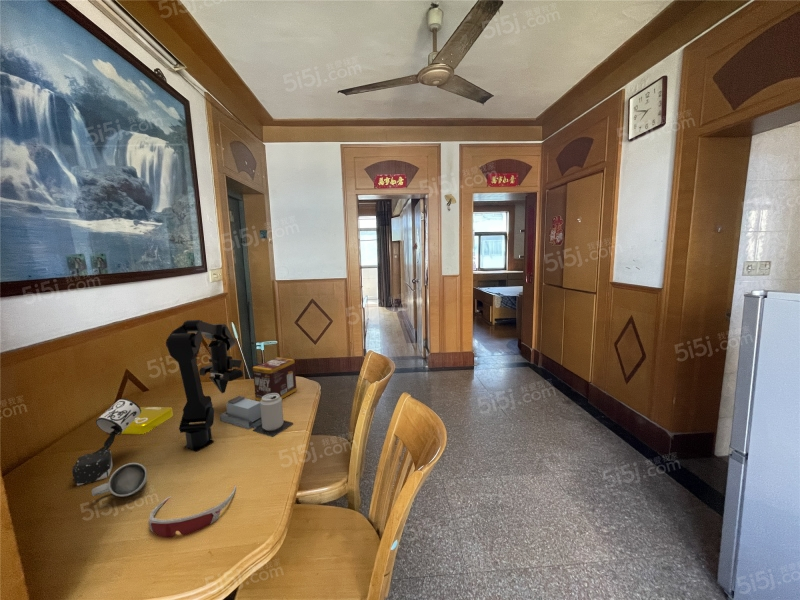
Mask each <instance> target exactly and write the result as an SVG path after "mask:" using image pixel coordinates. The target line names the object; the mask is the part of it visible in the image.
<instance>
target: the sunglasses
mask: <svg viewBox="0 0 800 600" xmlns="http://www.w3.org/2000/svg"><path fill="white" fill-rule="evenodd" d="M236 488H237V486H236V484H235V485H234V487H233V490H232V492H231V493H230V495H229V496H228V497H227V498H226V499H225V500H223V501H222V502H221V503H219V504H218V505H216V506H212V507H211V508H209V509H207V510H204V511H202V512H199V513H196V514H192V515H189V516H184V517H179V518H170V519H160V518H156V517H155V515H156V513H157V512H158V510H159V509H160V508H161V507H162V506H163V505H164V504H165V503H166V502H168V500H169V499H170V498H171V497H172V496H170V495H169V496H168V497H166V498H165V499H164V500H162V501H161V502H160V503H159V504H158V505H157V506H156V507H154V508H153V509H152V511H151V512H150V514H149V518H148V526H149V529H150V531H151V532H152V533H153V534H155V535H156V536H158V537H161V538H162V537H163V538H173V537H174V535H175V534H176V532H179V533H180V534H181V535H183V536H188V535H190V534H192V533H196V532H199V531H200V530H202V529H204V528H206V527H207V526H210V525H212V523H215V522H217V521H218V519H219V517H220V514H221V511H223V509H224V508H226V507H227V506H228V505H229V503H230V501H231V500H232V499H233V496H234V495H235V492H236Z"/></svg>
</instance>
